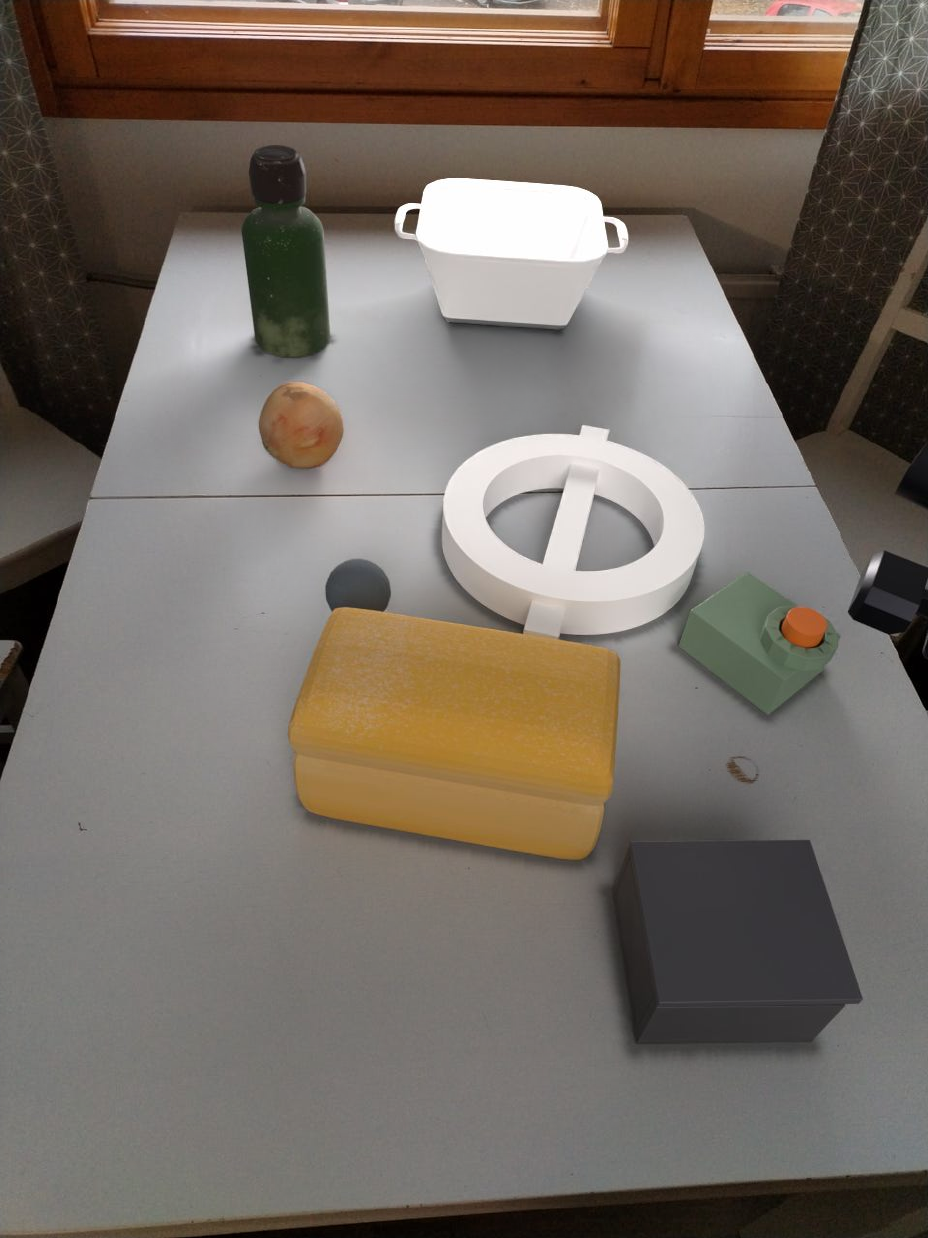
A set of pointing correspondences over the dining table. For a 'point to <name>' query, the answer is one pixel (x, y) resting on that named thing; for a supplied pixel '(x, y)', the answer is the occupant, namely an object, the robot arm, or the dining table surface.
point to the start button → (804, 627)
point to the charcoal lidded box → (699, 1021)
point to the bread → (457, 732)
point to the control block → (754, 643)
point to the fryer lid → (739, 924)
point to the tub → (510, 249)
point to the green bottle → (285, 258)
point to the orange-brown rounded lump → (300, 425)
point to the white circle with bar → (571, 534)
